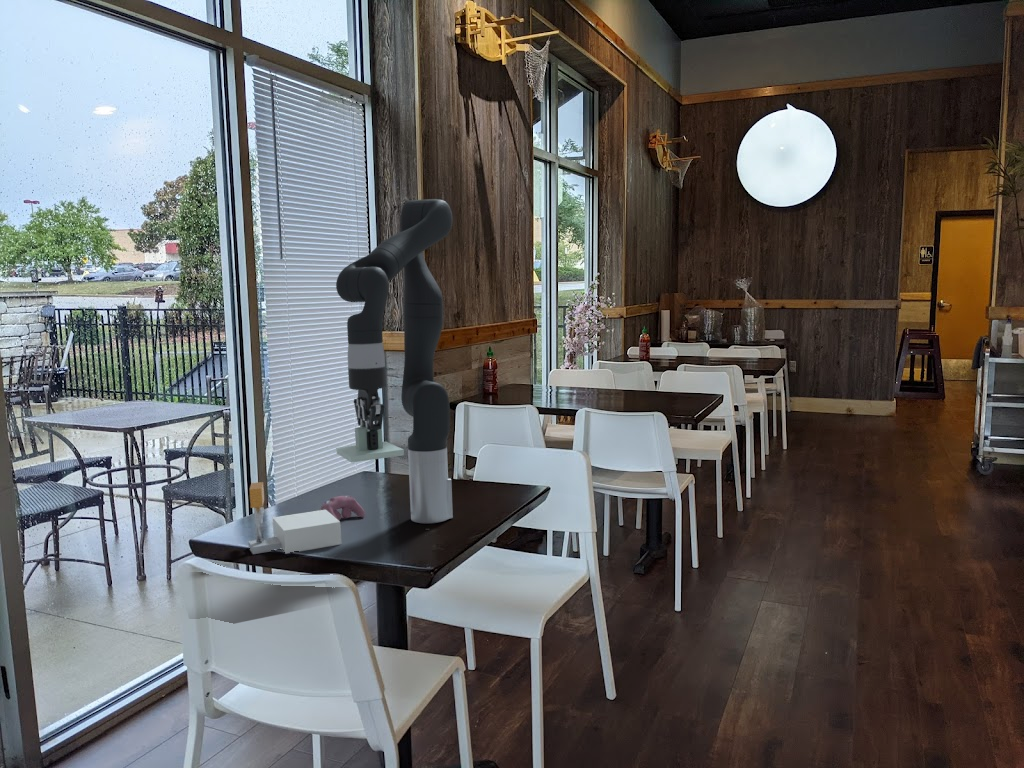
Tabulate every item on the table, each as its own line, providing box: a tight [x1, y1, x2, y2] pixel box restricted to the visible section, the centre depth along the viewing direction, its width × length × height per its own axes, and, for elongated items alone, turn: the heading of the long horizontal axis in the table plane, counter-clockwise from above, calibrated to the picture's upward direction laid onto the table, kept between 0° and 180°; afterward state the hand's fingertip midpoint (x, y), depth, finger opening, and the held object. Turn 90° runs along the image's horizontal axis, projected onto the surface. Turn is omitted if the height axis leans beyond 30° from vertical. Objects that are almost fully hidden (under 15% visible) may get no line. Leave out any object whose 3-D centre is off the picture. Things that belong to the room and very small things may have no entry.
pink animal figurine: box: [320, 494, 366, 521], centre depth 194 cm, size 10×5×7 cm, turn 142°
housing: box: [248, 509, 342, 555], centre depth 176 cm, size 18×12×5 cm, turn 118°
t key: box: [249, 481, 265, 542], centre depth 174 cm, size 9×2×12 cm, turn 14°
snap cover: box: [335, 427, 405, 463], centre depth 167 cm, size 11×11×6 cm
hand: (370, 448), depth 167 cm, fingers closed on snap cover
